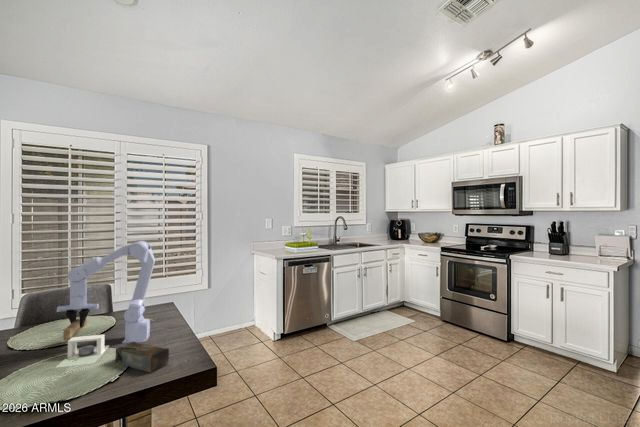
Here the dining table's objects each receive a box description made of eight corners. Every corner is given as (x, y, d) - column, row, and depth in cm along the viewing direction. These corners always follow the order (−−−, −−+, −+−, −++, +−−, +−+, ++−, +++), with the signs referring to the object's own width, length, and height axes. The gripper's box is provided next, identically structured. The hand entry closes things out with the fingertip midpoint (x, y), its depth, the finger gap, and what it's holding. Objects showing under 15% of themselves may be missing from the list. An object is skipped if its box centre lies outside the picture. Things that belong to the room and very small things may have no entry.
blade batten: (86, 325, 139) (86, 315, 139) (70, 340, 124) (70, 329, 124) (81, 325, 138) (81, 315, 138) (63, 341, 123) (63, 330, 123)
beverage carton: (133, 355, 124) (134, 339, 124) (170, 364, 117) (170, 347, 117) (114, 364, 117) (114, 346, 117) (151, 374, 110) (152, 355, 110)
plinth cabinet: (104, 351, 127) (104, 334, 127) (100, 355, 123) (101, 338, 123) (72, 354, 124) (72, 337, 124) (67, 359, 120) (67, 341, 120)
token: (96, 350, 127) (96, 344, 127) (91, 355, 122) (91, 349, 122) (81, 351, 125) (81, 345, 125) (76, 357, 120) (76, 351, 121)
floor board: (109, 346, 132) (110, 345, 132) (94, 364, 116) (94, 363, 116) (76, 349, 128) (76, 348, 129) (55, 369, 112) (55, 367, 112)
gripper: (101, 291, 139) (101, 322, 139) (62, 294, 135) (62, 325, 135) (95, 295, 132) (95, 327, 132) (54, 298, 128) (53, 331, 128)
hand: (78, 327), depth 133 cm, fingers closed on blade batten, 2 cm apart
